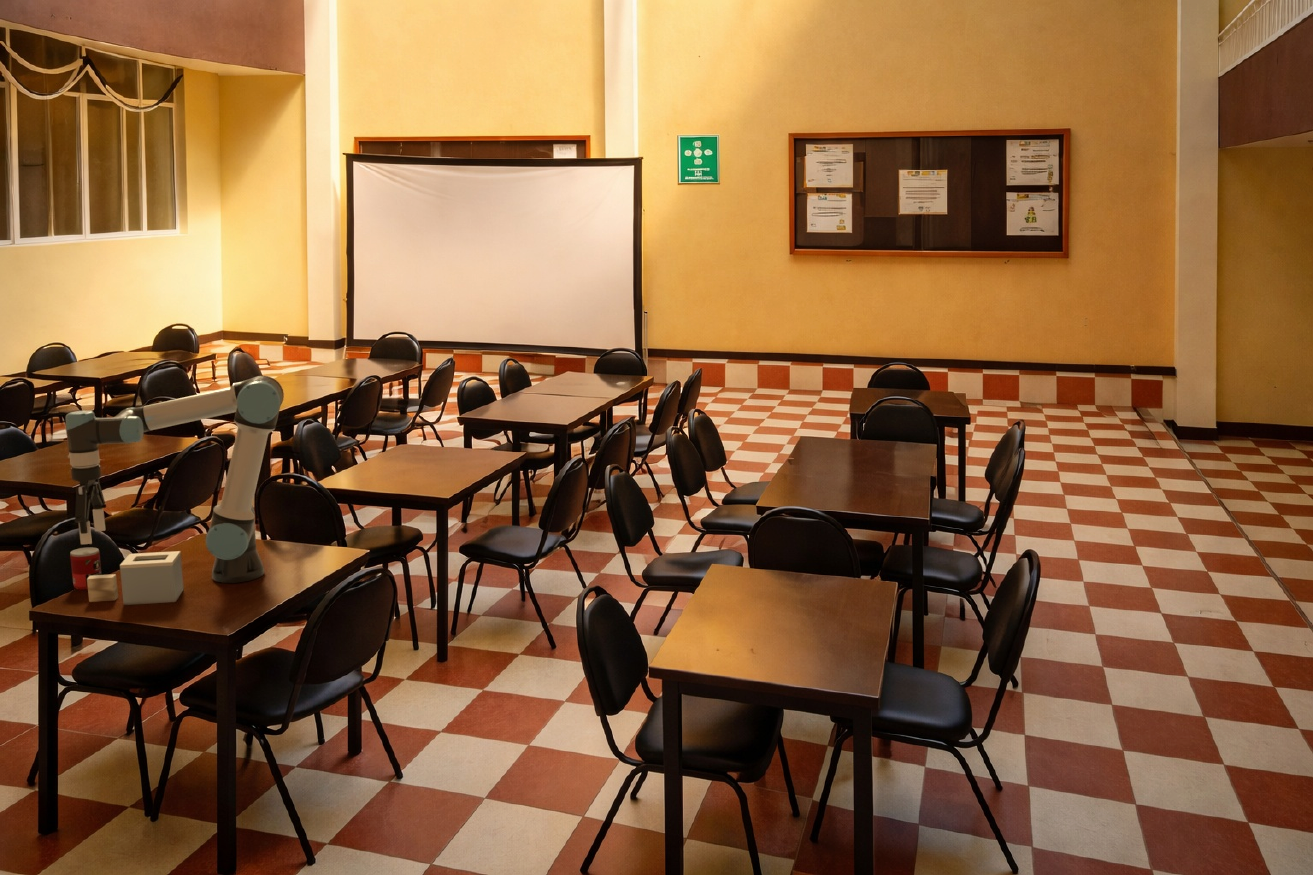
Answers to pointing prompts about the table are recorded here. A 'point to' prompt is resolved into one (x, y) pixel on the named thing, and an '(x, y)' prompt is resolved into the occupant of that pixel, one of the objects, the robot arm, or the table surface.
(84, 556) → the canned food
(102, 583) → the block
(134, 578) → the box
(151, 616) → the table surface
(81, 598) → the table surface
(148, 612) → the table surface
